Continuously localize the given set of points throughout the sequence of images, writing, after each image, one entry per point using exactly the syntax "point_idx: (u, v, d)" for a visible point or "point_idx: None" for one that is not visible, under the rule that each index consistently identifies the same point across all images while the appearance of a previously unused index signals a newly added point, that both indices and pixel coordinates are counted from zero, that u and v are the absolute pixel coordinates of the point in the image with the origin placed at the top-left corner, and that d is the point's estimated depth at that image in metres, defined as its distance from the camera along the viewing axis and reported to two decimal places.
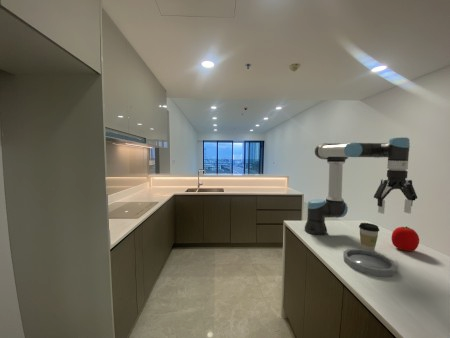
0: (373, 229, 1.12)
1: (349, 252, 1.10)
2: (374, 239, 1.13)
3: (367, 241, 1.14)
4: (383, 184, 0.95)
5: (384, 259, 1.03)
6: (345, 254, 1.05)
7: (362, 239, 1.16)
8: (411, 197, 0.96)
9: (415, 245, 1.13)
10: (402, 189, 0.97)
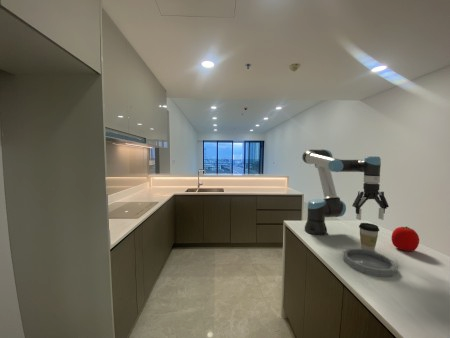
0: (373, 229, 1.12)
1: (349, 252, 1.10)
2: (374, 239, 1.13)
3: (367, 241, 1.14)
4: (360, 195, 1.14)
5: (384, 259, 1.03)
6: (345, 254, 1.05)
7: (362, 239, 1.16)
8: (383, 206, 1.15)
9: (415, 245, 1.13)
10: (376, 199, 1.15)
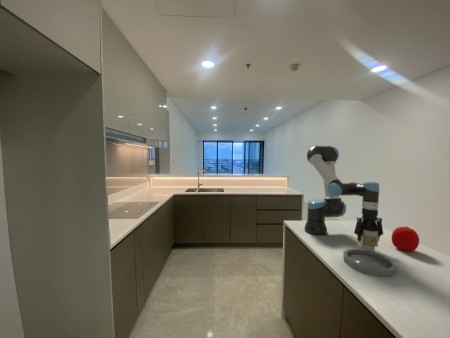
0: (373, 229, 1.12)
1: (349, 252, 1.10)
2: (374, 239, 1.13)
3: (367, 241, 1.14)
4: (359, 222, 1.15)
5: (384, 259, 1.03)
6: (345, 254, 1.05)
7: None
8: (378, 233, 1.16)
9: (415, 245, 1.13)
10: (373, 225, 1.16)
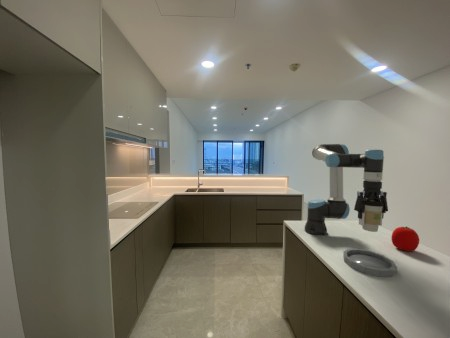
0: (376, 204, 0.95)
1: (349, 252, 1.10)
2: (378, 216, 0.96)
3: (370, 218, 0.97)
4: (360, 196, 0.98)
5: (384, 259, 1.03)
6: (345, 254, 1.05)
7: None
8: (382, 209, 0.99)
9: (415, 245, 1.13)
10: (376, 200, 0.99)
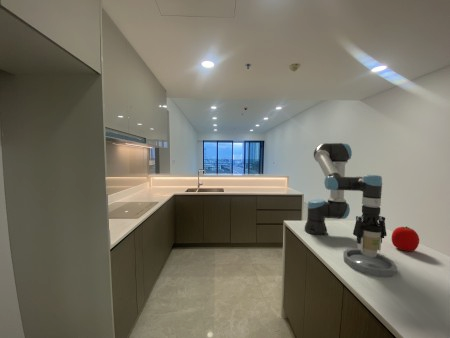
0: (375, 230, 0.96)
1: (349, 252, 1.10)
2: (376, 241, 0.97)
3: (368, 244, 0.98)
4: (358, 221, 0.99)
5: (384, 259, 1.03)
6: (345, 254, 1.05)
7: None
8: (381, 234, 1.00)
9: (415, 245, 1.13)
10: (374, 225, 1.00)
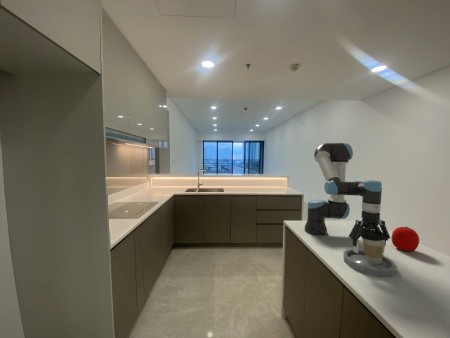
0: (378, 238, 0.96)
1: (349, 252, 1.10)
2: (380, 249, 0.97)
3: (373, 252, 0.98)
4: (357, 225, 0.99)
5: (384, 259, 1.03)
6: (345, 254, 1.05)
7: (366, 250, 1.00)
8: (384, 237, 1.00)
9: (415, 245, 1.13)
10: (376, 229, 1.00)
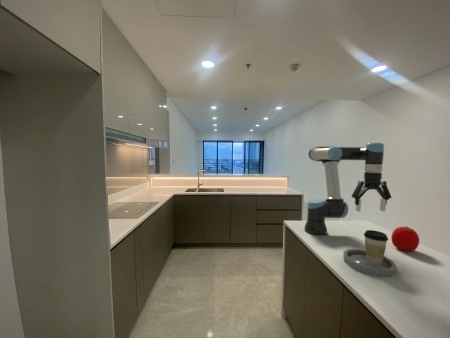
0: (381, 238, 0.96)
1: (349, 252, 1.10)
2: (382, 250, 0.97)
3: (375, 252, 0.98)
4: (360, 185, 1.06)
5: (384, 259, 1.03)
6: (345, 254, 1.05)
7: (368, 250, 1.00)
8: (385, 197, 1.06)
9: (415, 245, 1.13)
10: (377, 189, 1.07)
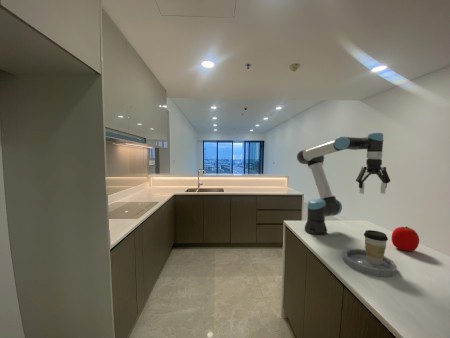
0: (381, 238, 0.96)
1: (349, 252, 1.10)
2: (382, 250, 0.97)
3: (375, 252, 0.98)
4: (363, 170, 1.20)
5: (384, 259, 1.03)
6: (345, 254, 1.05)
7: (368, 249, 1.00)
8: (385, 180, 1.20)
9: (415, 245, 1.13)
10: (378, 174, 1.21)
